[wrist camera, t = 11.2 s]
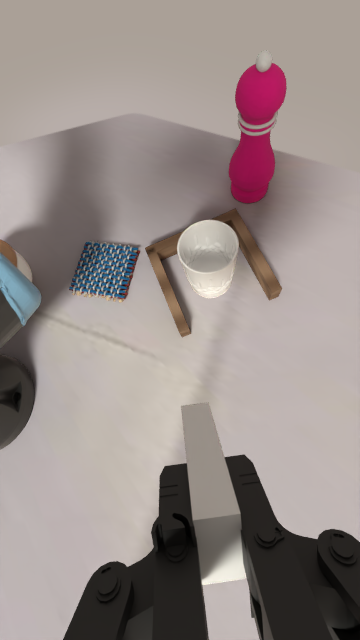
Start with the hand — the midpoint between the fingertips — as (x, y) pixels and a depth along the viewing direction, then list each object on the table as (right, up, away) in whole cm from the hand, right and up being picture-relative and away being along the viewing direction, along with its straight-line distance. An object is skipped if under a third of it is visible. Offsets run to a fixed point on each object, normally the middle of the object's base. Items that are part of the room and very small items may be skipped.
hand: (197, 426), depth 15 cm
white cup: (+4, +12, +30) cm, 33 cm away
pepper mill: (+11, +29, +34) cm, 46 cm away
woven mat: (-14, +14, +34) cm, 39 cm away
